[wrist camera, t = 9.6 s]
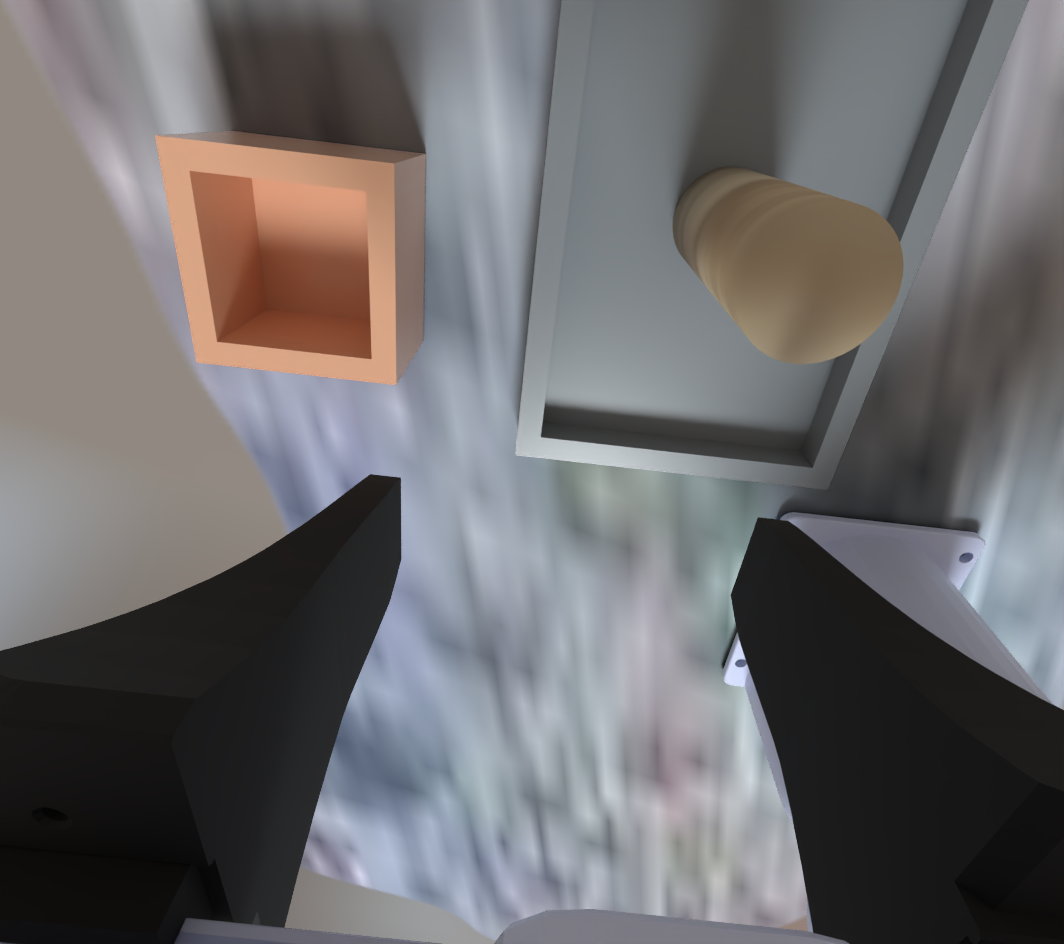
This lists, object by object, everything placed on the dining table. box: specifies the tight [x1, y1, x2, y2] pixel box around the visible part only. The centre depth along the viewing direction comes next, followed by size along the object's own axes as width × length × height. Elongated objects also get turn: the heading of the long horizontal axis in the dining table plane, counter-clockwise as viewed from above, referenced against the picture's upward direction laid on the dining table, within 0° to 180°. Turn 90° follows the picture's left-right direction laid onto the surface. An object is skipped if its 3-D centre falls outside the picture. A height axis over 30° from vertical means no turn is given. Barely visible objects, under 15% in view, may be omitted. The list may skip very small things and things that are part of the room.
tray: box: [515, 0, 1029, 490], centre depth 18 cm, size 16×11×2 cm
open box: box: [155, 131, 426, 385], centre depth 18 cm, size 6×6×4 cm
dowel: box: [673, 166, 904, 364], centre depth 15 cm, size 3×3×8 cm
